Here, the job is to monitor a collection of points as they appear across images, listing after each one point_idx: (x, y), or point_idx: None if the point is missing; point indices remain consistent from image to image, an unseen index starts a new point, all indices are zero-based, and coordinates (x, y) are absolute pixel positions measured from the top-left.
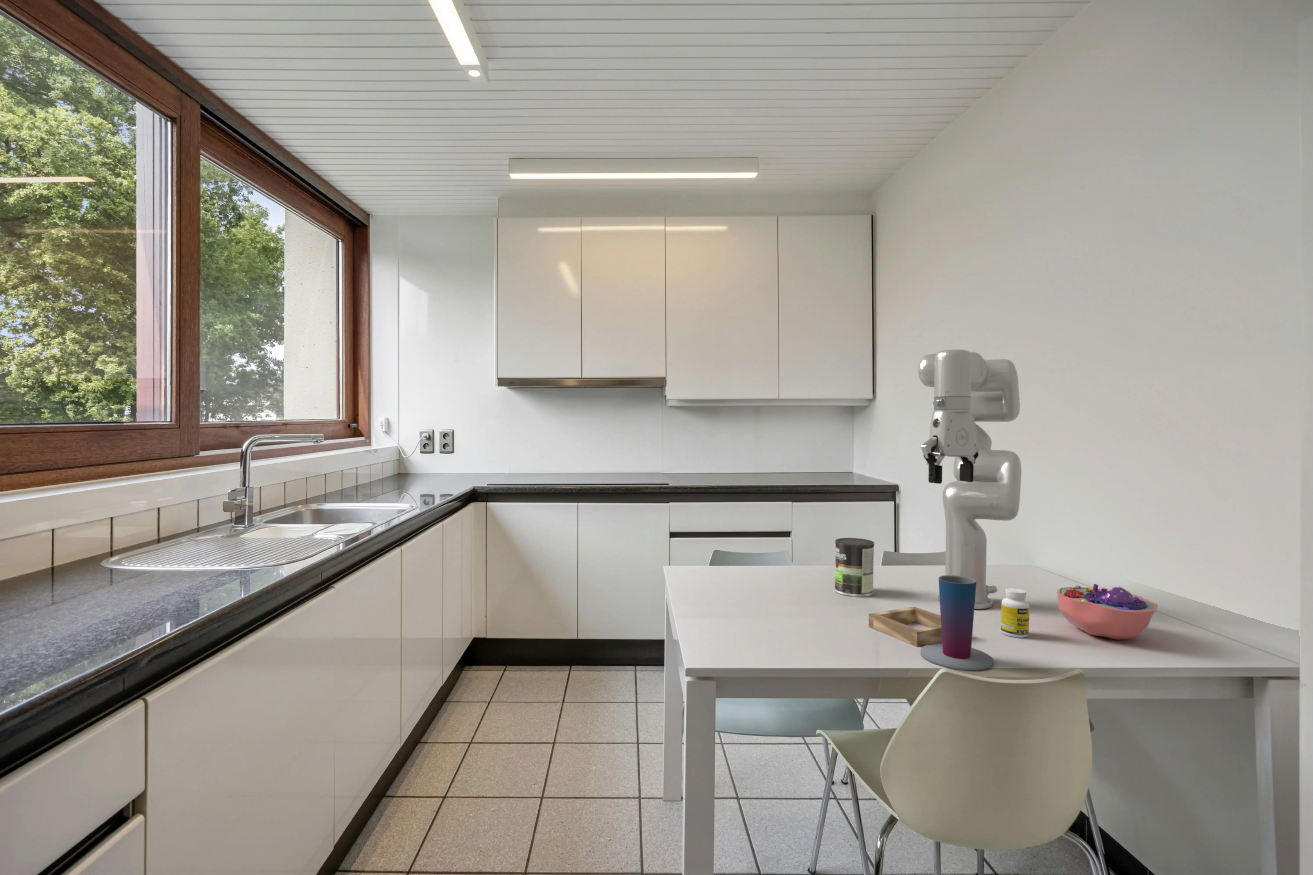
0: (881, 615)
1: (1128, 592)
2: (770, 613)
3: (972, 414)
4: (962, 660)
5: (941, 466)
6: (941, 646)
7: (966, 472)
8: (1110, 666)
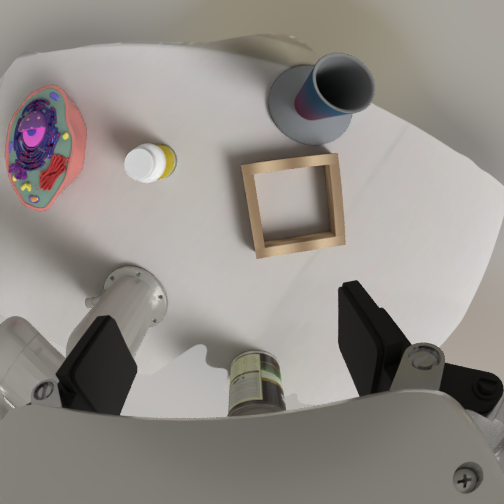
0: (330, 236)
1: (23, 119)
2: (405, 309)
3: None
4: None
5: (389, 338)
6: (308, 133)
7: (106, 368)
8: (148, 47)
